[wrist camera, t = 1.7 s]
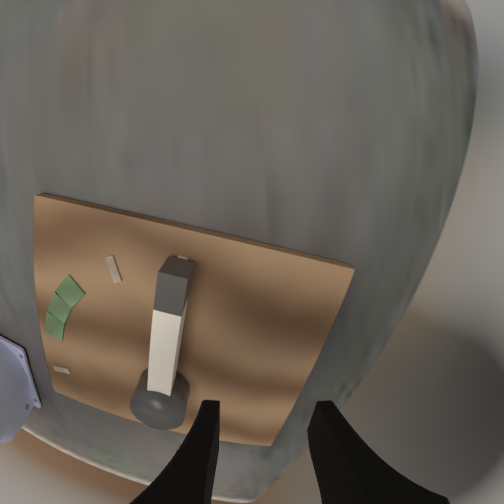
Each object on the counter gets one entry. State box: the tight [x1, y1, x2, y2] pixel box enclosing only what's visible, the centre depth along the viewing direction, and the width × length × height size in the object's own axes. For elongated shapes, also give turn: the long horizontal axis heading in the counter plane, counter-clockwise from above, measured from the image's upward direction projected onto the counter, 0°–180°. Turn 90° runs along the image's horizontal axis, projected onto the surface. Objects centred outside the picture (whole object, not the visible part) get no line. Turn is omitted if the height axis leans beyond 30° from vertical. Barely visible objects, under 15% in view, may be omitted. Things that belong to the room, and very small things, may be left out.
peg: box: [130, 256, 195, 430], centre depth 17 cm, size 13×4×3 cm, turn 166°
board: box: [33, 193, 355, 446], centre depth 20 cm, size 19×22×1 cm
